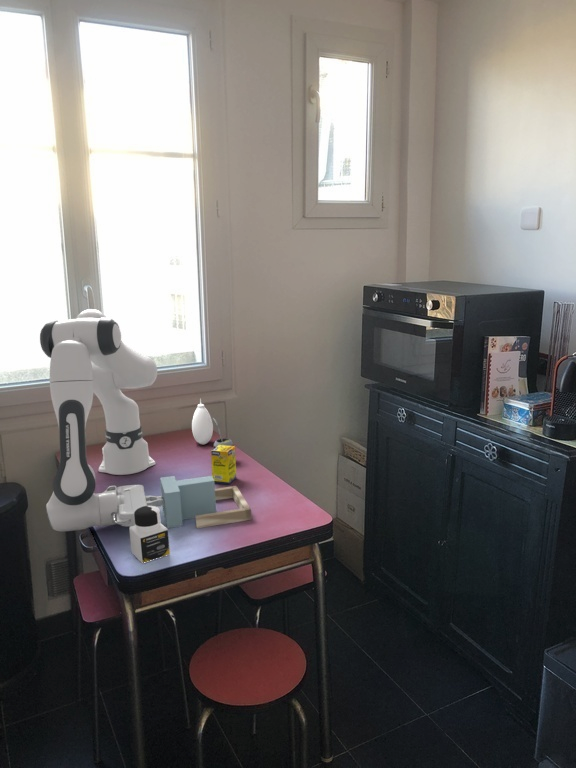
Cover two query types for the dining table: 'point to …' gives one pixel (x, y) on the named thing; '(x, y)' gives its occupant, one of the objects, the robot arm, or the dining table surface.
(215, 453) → the supplement box
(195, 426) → the white bulb air blower
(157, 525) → the medicine bottle
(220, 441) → the mate gourd
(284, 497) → the dining table surface
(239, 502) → the frame
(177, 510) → the blue block with tab
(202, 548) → the dining table surface
